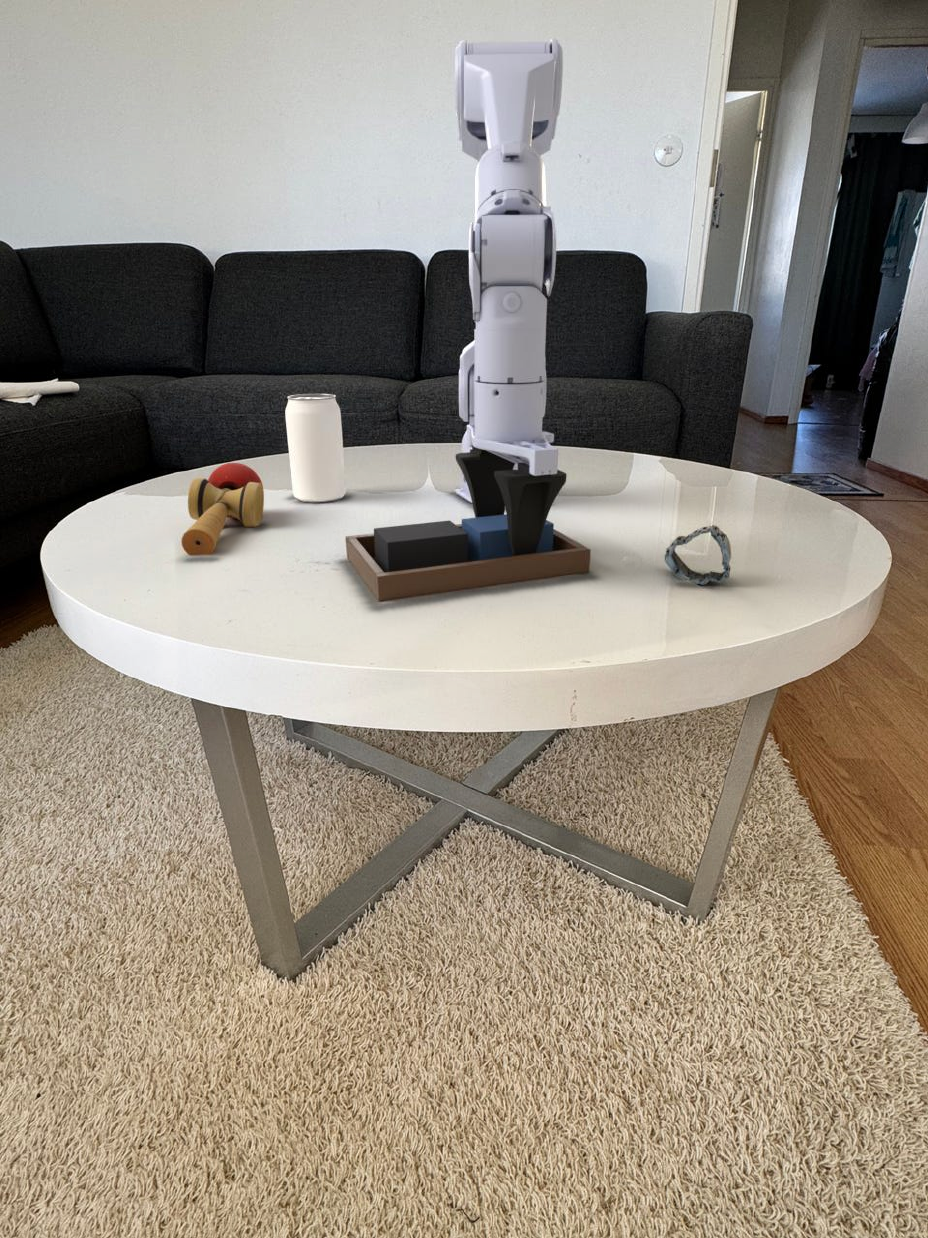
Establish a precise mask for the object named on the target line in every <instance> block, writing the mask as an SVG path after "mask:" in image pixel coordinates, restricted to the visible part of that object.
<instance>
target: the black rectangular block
mask: <svg viewBox="0 0 928 1238" xmlns="http://www.w3.org/2000/svg"><path fill="white" fill-rule="evenodd" d="M373 533H374V543H375V561H376V563H377V564H378V565H379V567H380V568H381V569H382V570H383V571H384V573H386V572H394V571H402V570H410V569H418V568H426V567H434V566H442V565H449V564H457V563H465V562H468V534H467V533H466V532H465V531H463V530H462V529H461V528H459V527H458V526H457V524H456V523H454V522H453V521H451V520H441V521H431V522H421V523H412V524H402V525H394V526H383V527H374V528H373Z"/></svg>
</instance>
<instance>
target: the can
mask: <svg viewBox="0 0 928 1238" xmlns="http://www.w3.org/2000/svg"><path fill="white" fill-rule="evenodd" d="M336 398H337V395H336V394H331V393H302V394H301V393H299V394H292V395H288V396H287V399H288V400H287V404H286V407H285V410H284V411H285V412H284V415H285V426H286V427H285V428H286V436H287V447H288V457H289V459H288V460H289V467H290V468H289V469H290V477H291V478H290V479H291V487H292V495H293V497H294V498H295V499H296V500H297V501H299V502H303V503H311V504H312V503H314V504H315V503H327V502H328V503H329V502H335V501H339V500H341V499H343V498H344V496H345V495H346V494H347V486H346V485H347V484H346V471H345V470H346V469H345V455H344V440H343V426H342V413H341V408H340V406H339V403H338V402H337V400H336Z"/></svg>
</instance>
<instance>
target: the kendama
mask: <svg viewBox="0 0 928 1238" xmlns="http://www.w3.org/2000/svg"><path fill="white" fill-rule="evenodd" d="M264 491H265V490H264V485H263V481H262V480H261V477H260V476H259V474H258V473H257V472H256V471H255V470H254V469H253V468H251V467H250V466H248V465H247V464H244V463H240V462H229V463H228V462H227V463H223V464H221V465H220V466H217V467H216V468H215V469H214V470H213V471H212V472H211V473H210V475H209V477H208V479H207V478H205V477H195V478H194V479H192V481H191V483H190V485H189V489H188V495H187V510H188V514H189V516H190V518H191V519H192V520H196V521H195V522H194V523H193V524H192V525H191V526H190V527H188V529H187V530H186V531H185V532H184V533H183V535H182V537H181V540H180V541H181V546H182V548H183V550H184V552H185V553H186V554H187V555H189V556H194V555H196V556H197V555H213V553H214V551H215V548H216V546H217V544H218V540H219V538H220V535H221V534H222V531H223V530H224V526H225V525H226V522H227V518H229V519H237V520H238V521H239V522H241V524H242V525H243V526H244V527H245V528H246V527H249V528H255V527H257V526H260V524H261V521H262V518H263V513H264V506H265V505H264V504H265V492H264Z"/></svg>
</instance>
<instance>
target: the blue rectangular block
mask: <svg viewBox="0 0 928 1238" xmlns="http://www.w3.org/2000/svg"><path fill="white" fill-rule="evenodd" d="M461 524H462V530H463V531H465V532H466V533H467V534H468V561H469V562H473V561H481V560H489V559H497V558H505V557H513V556H521V555H528V554H521V555H514V554H513V553H512V551H511V548H510V543H509V535H508V523H507V514H504V515H496V516H487V517H477V518H475V517H469V518H462V519H461ZM554 529H555V524H554V523H553V522H551V521H550V520H547V519H546V522H545V525H544V529H543V532H542V536H541V539H540V542H539V546H538V549H537V552H536V553H544V552H552V551H553V530H554ZM536 553H529V554H536Z"/></svg>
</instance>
